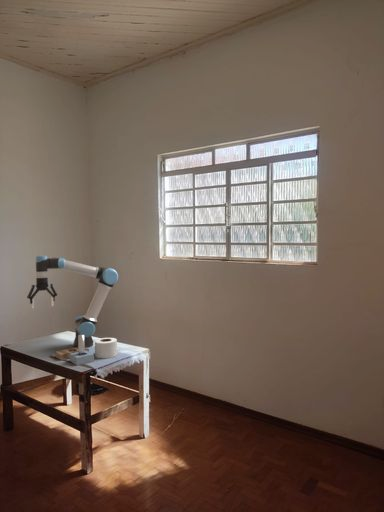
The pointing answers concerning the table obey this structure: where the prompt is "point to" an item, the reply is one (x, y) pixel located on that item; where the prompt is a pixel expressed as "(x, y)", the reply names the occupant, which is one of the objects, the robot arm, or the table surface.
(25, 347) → the table surface
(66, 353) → the walnut beam
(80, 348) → the steel axle
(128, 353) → the table surface
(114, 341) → the toilet paper roll
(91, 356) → the seat block
